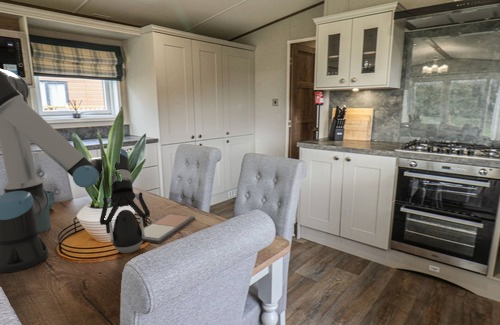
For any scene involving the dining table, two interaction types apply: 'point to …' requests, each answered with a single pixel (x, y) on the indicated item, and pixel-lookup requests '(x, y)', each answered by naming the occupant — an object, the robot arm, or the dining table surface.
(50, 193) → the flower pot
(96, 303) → the dining table surface
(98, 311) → the dining table surface
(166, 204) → the dining table surface
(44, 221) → the teal cup
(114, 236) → the black rounded piece
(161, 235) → the board
